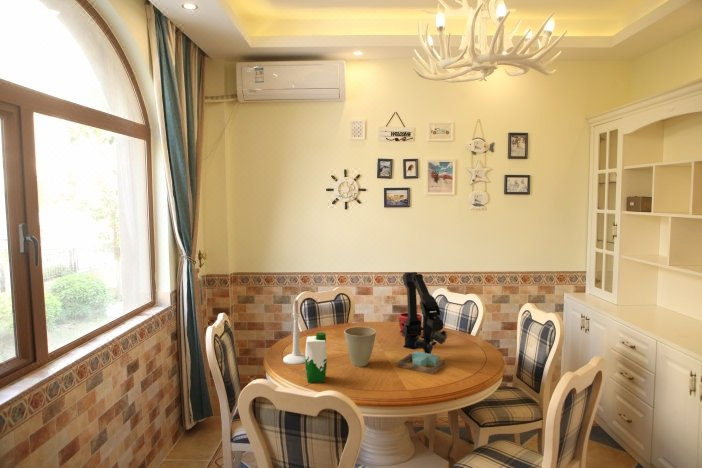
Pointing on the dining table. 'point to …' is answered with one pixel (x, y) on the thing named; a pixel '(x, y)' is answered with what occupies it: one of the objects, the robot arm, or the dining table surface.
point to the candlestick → (295, 342)
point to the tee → (424, 359)
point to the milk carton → (316, 358)
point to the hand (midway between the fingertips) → (428, 357)
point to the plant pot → (360, 344)
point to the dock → (406, 365)
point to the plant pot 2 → (403, 318)
